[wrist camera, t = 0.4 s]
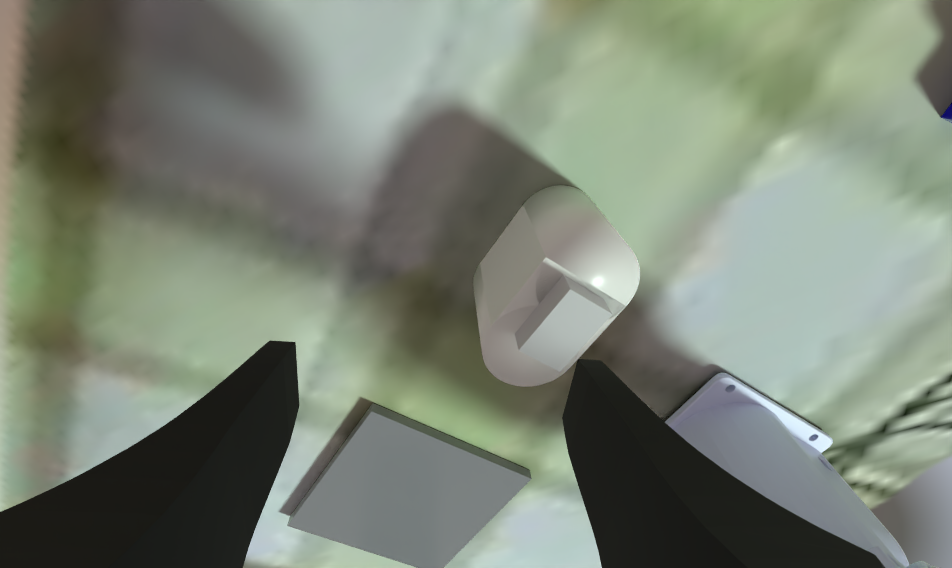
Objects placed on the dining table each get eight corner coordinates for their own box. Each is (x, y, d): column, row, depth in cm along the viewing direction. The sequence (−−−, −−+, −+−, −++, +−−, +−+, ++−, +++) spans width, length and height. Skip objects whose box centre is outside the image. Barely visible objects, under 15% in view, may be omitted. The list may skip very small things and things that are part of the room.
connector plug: (615, 213, 21) (674, 281, 16) (521, 327, 24) (545, 418, 19) (549, 168, 20) (589, 225, 15) (457, 293, 23) (463, 379, 17)
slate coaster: (529, 470, 29) (531, 478, 28) (437, 564, 32) (437, 573, 32) (373, 402, 25) (371, 411, 25) (290, 516, 29) (287, 525, 28)
